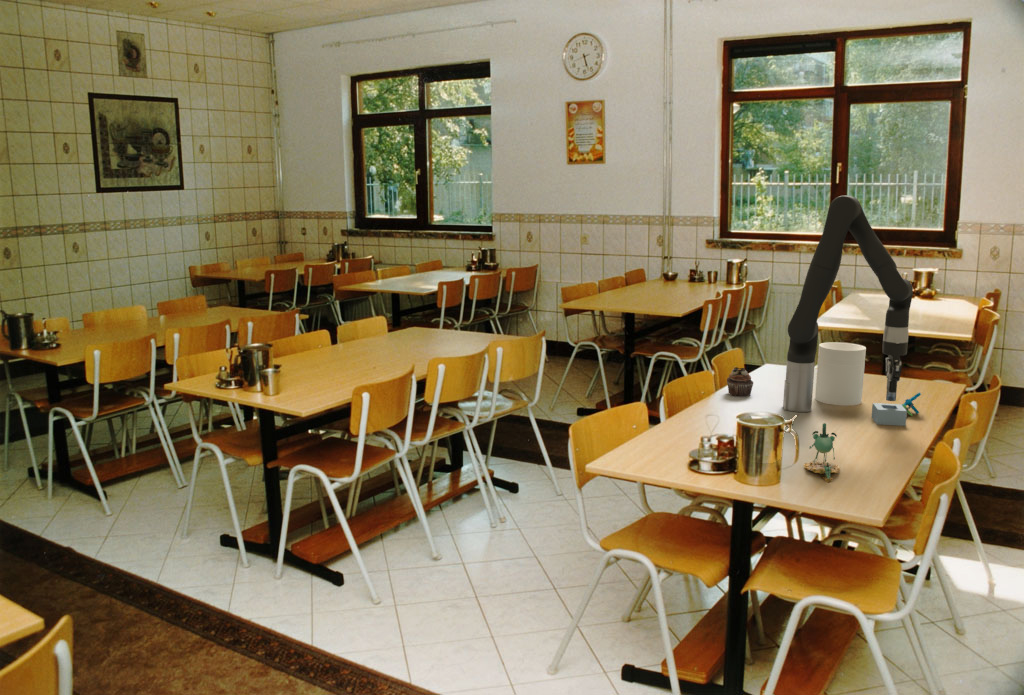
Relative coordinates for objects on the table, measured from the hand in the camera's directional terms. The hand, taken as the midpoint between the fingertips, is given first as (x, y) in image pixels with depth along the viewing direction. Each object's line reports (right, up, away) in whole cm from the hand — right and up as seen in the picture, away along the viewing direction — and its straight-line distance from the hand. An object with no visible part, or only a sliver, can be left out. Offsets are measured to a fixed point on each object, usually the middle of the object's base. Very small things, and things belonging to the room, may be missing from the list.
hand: (891, 390), depth 294 cm
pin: (0, -3, +1) cm, 3 cm away
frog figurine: (-40, -20, -49) cm, 67 cm away
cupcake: (-41, -3, +38) cm, 56 cm away
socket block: (0, -10, +2) cm, 11 cm away
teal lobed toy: (+11, -9, +13) cm, 19 cm away
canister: (-7, -5, +30) cm, 31 cm away
